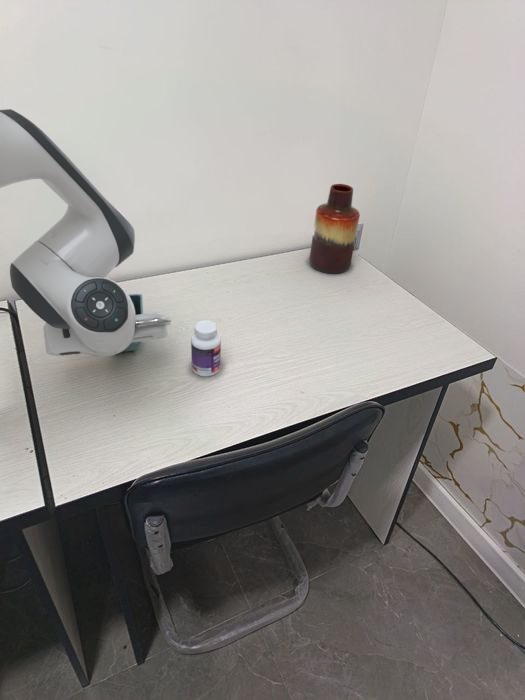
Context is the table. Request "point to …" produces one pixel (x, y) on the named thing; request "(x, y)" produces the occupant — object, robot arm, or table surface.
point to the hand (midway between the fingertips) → (109, 340)
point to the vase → (334, 231)
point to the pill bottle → (206, 349)
